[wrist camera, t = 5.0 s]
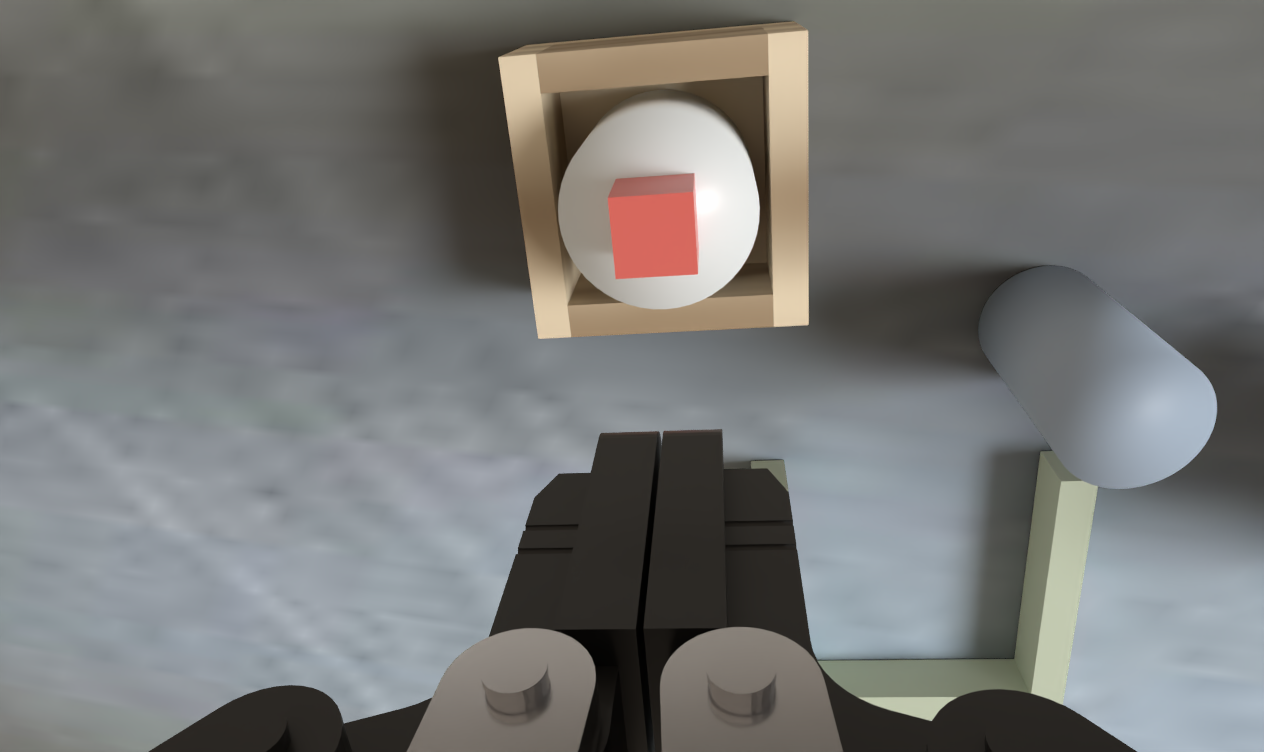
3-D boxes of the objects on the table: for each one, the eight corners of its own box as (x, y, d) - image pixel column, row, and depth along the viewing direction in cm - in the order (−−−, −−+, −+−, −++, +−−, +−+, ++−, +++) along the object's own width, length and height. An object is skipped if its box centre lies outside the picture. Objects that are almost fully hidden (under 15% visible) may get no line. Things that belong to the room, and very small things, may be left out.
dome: (569, 97, 25) (531, 133, 20) (750, 82, 25) (761, 115, 19) (588, 268, 27) (559, 342, 22) (755, 258, 27) (766, 332, 21)
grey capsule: (983, 269, 28) (1062, 356, 22) (1113, 262, 28) (1231, 349, 21) (973, 380, 30) (1044, 490, 24) (1095, 375, 29) (1201, 486, 23)
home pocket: (750, 461, 32) (753, 490, 30) (1075, 450, 31) (1099, 480, 29) (758, 682, 36) (760, 720, 35) (1041, 681, 35) (1059, 719, 33)
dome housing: (527, 44, 26) (498, 57, 23) (794, 20, 25) (808, 30, 22) (559, 293, 30) (538, 338, 26) (796, 280, 29) (808, 325, 25)
